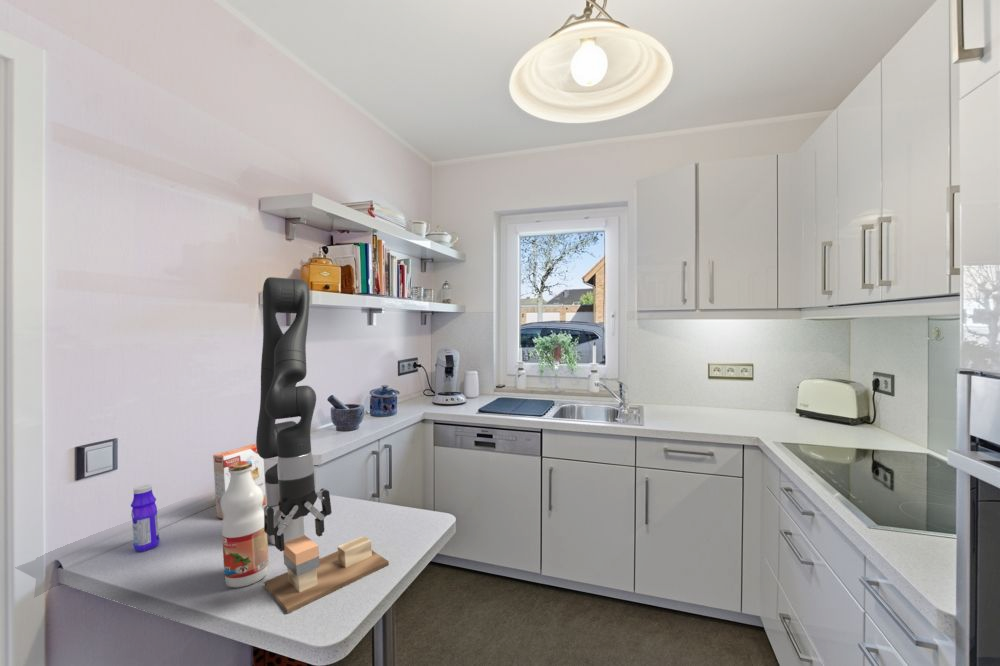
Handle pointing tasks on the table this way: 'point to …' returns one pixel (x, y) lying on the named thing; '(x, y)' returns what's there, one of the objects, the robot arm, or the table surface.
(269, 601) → the table surface
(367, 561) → the twin stand
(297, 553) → the cover
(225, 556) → the fruit juice
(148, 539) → the bottle
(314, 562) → the housing base
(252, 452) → the cracker box
